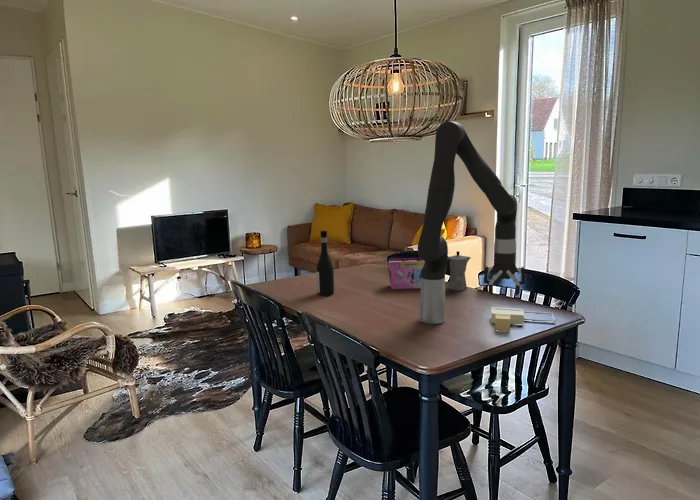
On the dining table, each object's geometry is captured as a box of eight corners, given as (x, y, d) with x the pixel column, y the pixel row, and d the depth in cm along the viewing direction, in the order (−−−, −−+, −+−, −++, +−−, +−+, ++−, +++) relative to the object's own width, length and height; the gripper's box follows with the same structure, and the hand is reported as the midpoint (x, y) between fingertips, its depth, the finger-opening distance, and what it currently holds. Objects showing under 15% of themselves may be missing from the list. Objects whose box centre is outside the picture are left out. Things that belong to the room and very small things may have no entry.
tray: (524, 321, 194) (524, 318, 194) (522, 313, 204) (522, 311, 203) (555, 323, 191) (555, 320, 191) (552, 315, 201) (552, 312, 200)
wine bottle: (315, 296, 236) (312, 232, 231) (320, 291, 244) (317, 229, 238) (331, 297, 234) (329, 232, 229) (336, 292, 242) (334, 229, 236)
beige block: (495, 331, 185) (495, 318, 184) (495, 326, 190) (495, 313, 189) (509, 332, 183) (510, 319, 182) (509, 327, 189) (509, 313, 188)
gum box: (389, 289, 245) (389, 262, 242) (386, 285, 253) (386, 258, 250) (438, 287, 247) (438, 260, 244) (434, 283, 255) (434, 256, 252)
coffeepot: (465, 284, 250) (466, 248, 247) (474, 289, 241) (475, 252, 238) (436, 287, 247) (436, 250, 243) (444, 292, 238) (445, 254, 234)
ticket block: (491, 325, 191) (491, 314, 190) (491, 316, 201) (491, 306, 200) (523, 327, 188) (524, 316, 187) (522, 318, 198) (522, 308, 197)
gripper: (483, 252, 180) (483, 296, 183) (526, 253, 176) (525, 298, 179) (484, 248, 187) (483, 291, 190) (525, 249, 183) (524, 293, 186)
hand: (503, 294), depth 184 cm, fingers open, 8 cm apart
